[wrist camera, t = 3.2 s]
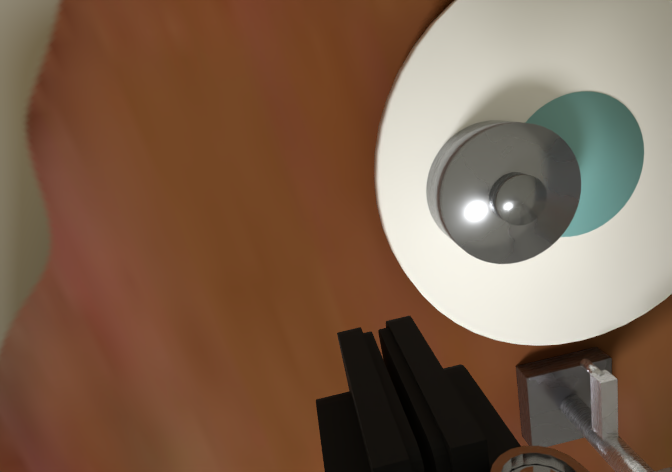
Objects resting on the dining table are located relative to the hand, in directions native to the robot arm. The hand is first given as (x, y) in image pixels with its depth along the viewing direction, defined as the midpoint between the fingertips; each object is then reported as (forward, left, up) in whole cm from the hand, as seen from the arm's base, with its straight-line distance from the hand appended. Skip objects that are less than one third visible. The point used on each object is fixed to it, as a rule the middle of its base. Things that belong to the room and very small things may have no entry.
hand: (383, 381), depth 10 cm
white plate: (-14, 0, -18) cm, 23 cm away
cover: (-9, 0, -15) cm, 18 cm away
